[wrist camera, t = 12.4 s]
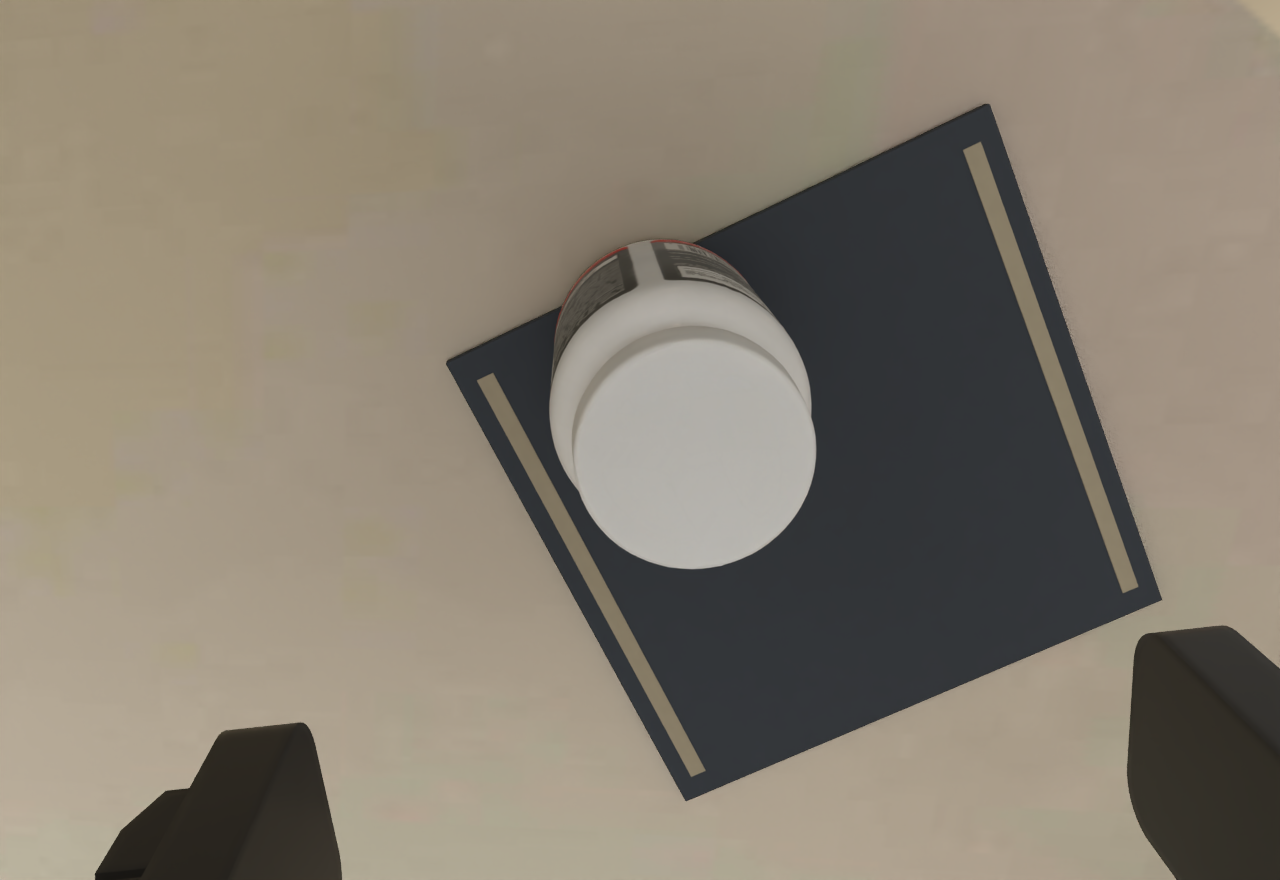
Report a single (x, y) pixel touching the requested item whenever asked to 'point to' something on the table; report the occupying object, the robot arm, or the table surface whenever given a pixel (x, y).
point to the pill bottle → (680, 406)
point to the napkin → (860, 473)
